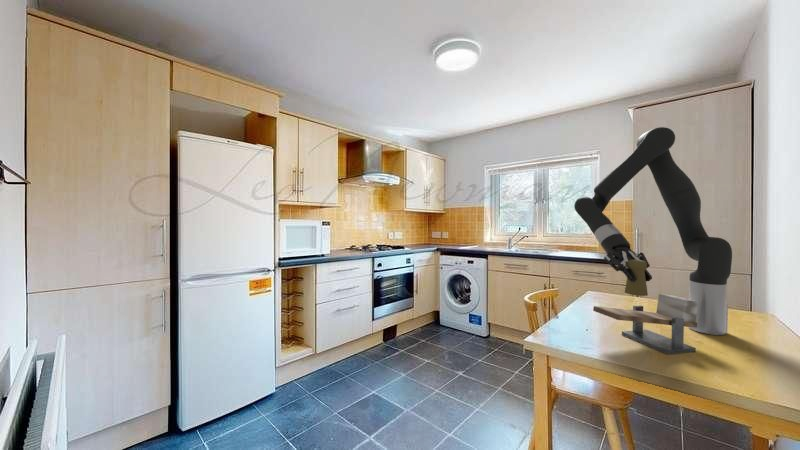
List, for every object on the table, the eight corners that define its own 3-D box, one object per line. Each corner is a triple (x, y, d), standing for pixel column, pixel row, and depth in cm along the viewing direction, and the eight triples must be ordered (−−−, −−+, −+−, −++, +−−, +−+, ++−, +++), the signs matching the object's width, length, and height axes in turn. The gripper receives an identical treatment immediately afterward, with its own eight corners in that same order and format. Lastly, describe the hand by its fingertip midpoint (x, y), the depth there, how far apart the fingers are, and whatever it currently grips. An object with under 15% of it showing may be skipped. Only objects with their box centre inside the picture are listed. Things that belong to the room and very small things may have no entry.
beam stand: (646, 333, 105) (647, 304, 105) (695, 351, 90) (696, 318, 90) (621, 334, 103) (622, 305, 103) (667, 354, 88) (668, 320, 88)
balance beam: (663, 317, 103) (666, 294, 103) (700, 329, 92) (703, 302, 93) (590, 309, 99) (594, 285, 99) (620, 321, 88) (624, 293, 88)
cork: (652, 296, 95) (653, 261, 95) (630, 295, 96) (631, 260, 96) (641, 291, 101) (642, 258, 101) (620, 290, 102) (621, 258, 102)
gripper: (599, 232, 104) (629, 274, 93) (635, 232, 106) (670, 273, 95) (587, 246, 110) (614, 287, 98) (622, 246, 112) (653, 286, 100)
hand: (641, 280), depth 97 cm, fingers closed on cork, 4 cm apart
